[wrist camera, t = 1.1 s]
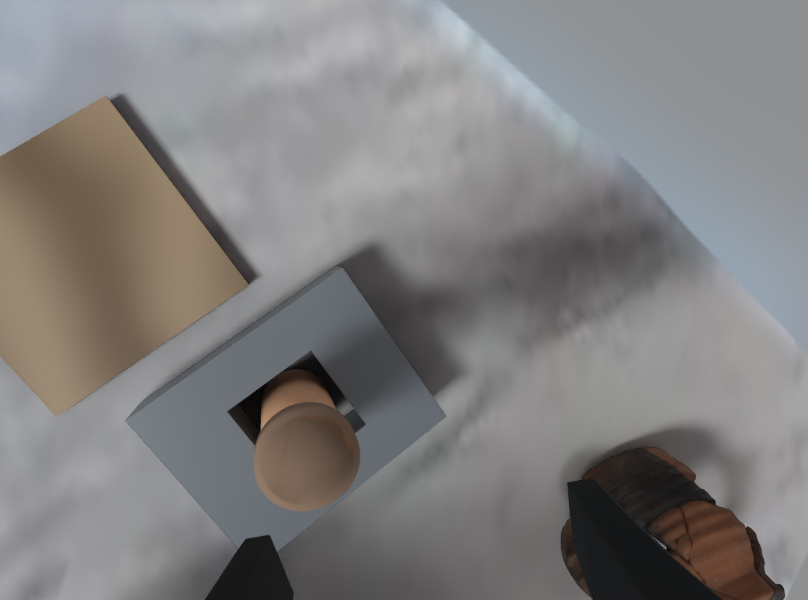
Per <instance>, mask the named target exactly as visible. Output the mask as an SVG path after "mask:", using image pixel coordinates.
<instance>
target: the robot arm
mask: <svg viewBox="0 0 808 600" xmlns="http://www.w3.org/2000/svg"><path fill="white" fill-rule="evenodd" d="M567 485H568V496H569V506H570V516H571V527H572V537H573V546H574V549H575V552H576V555H577V558H578V561H579V564H580V567H581V570H582V573H583V576H584V578H585V581H586V584H587V587H588V590H589V592H590V594H591V597H592V599H593V600H724V599H722V598H721V597H720V596H719V595H717V594H716V593H715V592H714V591H712V590H711V589H710V588H709V587H708V586H706V585H705V584H704V583H703V582H702V581H700V580H699V579H698V578H697V577H696V576H695V575H693V574H692V573H691V572H690V571H689V570H687V569H686V568H685V567H684V566H683V565H682V564H681V563H680V562H678V561H677V560H676V559H675V558H674V557H673V556H672V555H671V554H669V553H668V552H667V551H666V550H665V549H664V548H663V547H662V546H661V545H660V544H659V543H658V542H657V541H656V540H655V539H653V538H652V537H651V536H650V535H649V534H648V533H647V532H646V531H645V530H644V529H643V528H642V527H641V526H640V525H639V524H638V523H637V522H636V521H635V520H634V519H633V518H632V517H631V516H630V515H629V514H628V513H627V512H626V511H625V510H624V509H623V508H622V507H621V506H620V505H619V504H618V503H617V501H616V500H615V499H614V498H613V497H612V496H611V495H610V494H609V493H608V492H607V491H606V489H605V488H604V487H603V486H602V485H601V484H600V483H599V482H598V481H597V480H596V479H594V478H591V479H585V480H579V481H573V482H568V483H567ZM293 594H294V593H293V590H292V588H291V585H290V583H289V580H288V578H287V576H286V573H285V571H284V568H283V566H282V563H281V561H280V558H279V556H278V553H277V551H276V548H275V546H274V544H273V541H272V539H271V536H270V535H264V536H258V537H253V538H247V539H245V540H244V542H243V543H242V545H241V546H240V547H239V549H238V550H237V552H236V553H235V555H234V556H233V558H232V559H231V561H230V562H229V564H228V566H227V567H226V569H225V570H224V572H223V573H222V575H221V576H220V578H219V579H218V581H217V582H216V584H215V585H214V587H213V588H212V590H211V591H210V593H209V594H208V596H207V597H206V599H205V600H293Z"/></svg>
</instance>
